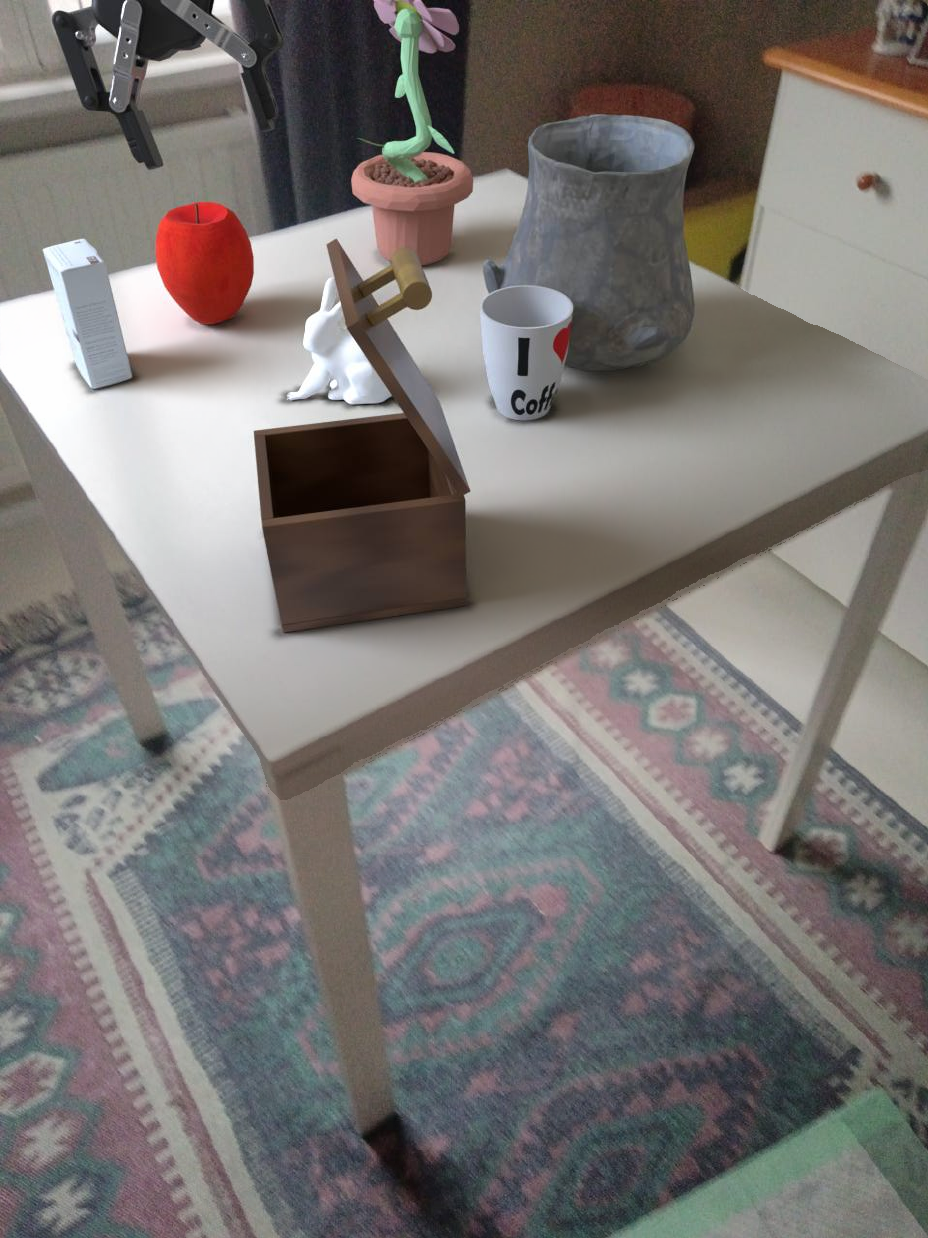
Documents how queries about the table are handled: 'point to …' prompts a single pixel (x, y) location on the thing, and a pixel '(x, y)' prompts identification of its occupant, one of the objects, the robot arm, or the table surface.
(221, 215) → the apple
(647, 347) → the vessel
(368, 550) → the chest
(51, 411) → the table surface
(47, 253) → the cosmetic box
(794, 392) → the table surface
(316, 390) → the rabbit figurine
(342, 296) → the lid
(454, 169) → the decorative flower
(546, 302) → the cup
